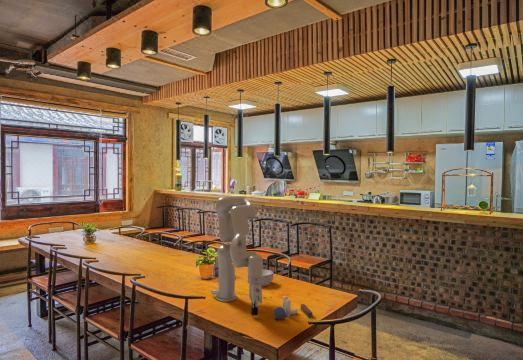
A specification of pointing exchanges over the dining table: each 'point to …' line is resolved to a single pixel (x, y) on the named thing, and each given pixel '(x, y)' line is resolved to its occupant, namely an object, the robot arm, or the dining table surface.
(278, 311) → the ball
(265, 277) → the paper bowls
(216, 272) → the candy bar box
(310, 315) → the wall
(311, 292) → the dining table surface
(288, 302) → the back right pin
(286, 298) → the back left pin
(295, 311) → the front pin
